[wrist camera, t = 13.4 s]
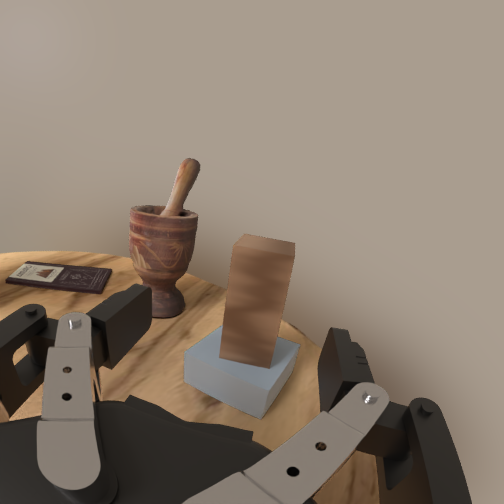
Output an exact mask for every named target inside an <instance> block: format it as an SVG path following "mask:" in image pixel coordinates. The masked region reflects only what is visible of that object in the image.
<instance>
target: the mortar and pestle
mask: <svg viewBox="0 0 504 504" xmlns="http://www.w3.org/2000/svg"><path fill="white" fill-rule="evenodd" d="M199 171H200V164H199V162H198V161H197V160H195V159H191V158H188V159H185V160H184V161H183V162H182V164H181V165H180V167H179V170H178V173H177V176H176V179H175V183H174V187H173V190H172V193H171V196H170V199H169V202H168V204H167V206H151V205H145V206H135V207H132V208H131V211H130V234H129V250H130V255H131V259H132V261H133V266H134V268H135V270H136V271H137V273H138V274H139V276H140V277H141V278H142V280H143V286H147V287H150V288H151V289H152V317H162V318H163V317H172V316H176V315H178V314H179V313H181V312H182V310H183V309H184V307H185V302H184V297H183V295H182V294H181V292H180V291H179V290H178V289H177V288H176V287H175V284H176V281H177V280H178V279H179V278H181V277H182V276H183V275H184V274H185V272H186V271H187V268H188V265H189V262H190V261H191V258H192V254H193V250H194V244H195V235H196V231H197V221H198V214H196V213H194V212H190V211H189V210H185V209H183V204H184V201H185V200H186V197H187V195H188V193H189V191H190V190H191V188H192V186H193V184H194V182H195V180H196V178H197V176H198V173H199Z"/></svg>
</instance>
